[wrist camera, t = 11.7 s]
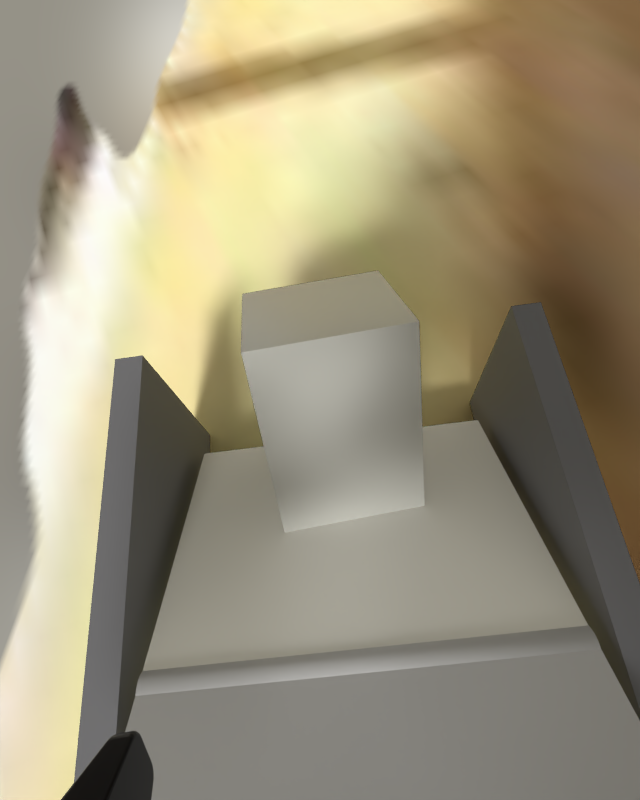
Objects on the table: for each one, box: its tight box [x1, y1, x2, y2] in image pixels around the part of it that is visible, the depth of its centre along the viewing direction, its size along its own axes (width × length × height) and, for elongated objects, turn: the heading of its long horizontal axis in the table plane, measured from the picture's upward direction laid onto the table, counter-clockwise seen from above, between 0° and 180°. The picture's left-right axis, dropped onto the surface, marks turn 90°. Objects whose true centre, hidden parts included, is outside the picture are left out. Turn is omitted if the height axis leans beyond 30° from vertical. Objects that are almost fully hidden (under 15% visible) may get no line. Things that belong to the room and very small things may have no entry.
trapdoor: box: [125, 420, 640, 800], centre depth 16 cm, size 16×12×3 cm
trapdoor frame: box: [74, 302, 640, 782], centre depth 17 cm, size 16×15×8 cm
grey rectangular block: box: [241, 271, 425, 532], centre depth 17 cm, size 5×5×7 cm
